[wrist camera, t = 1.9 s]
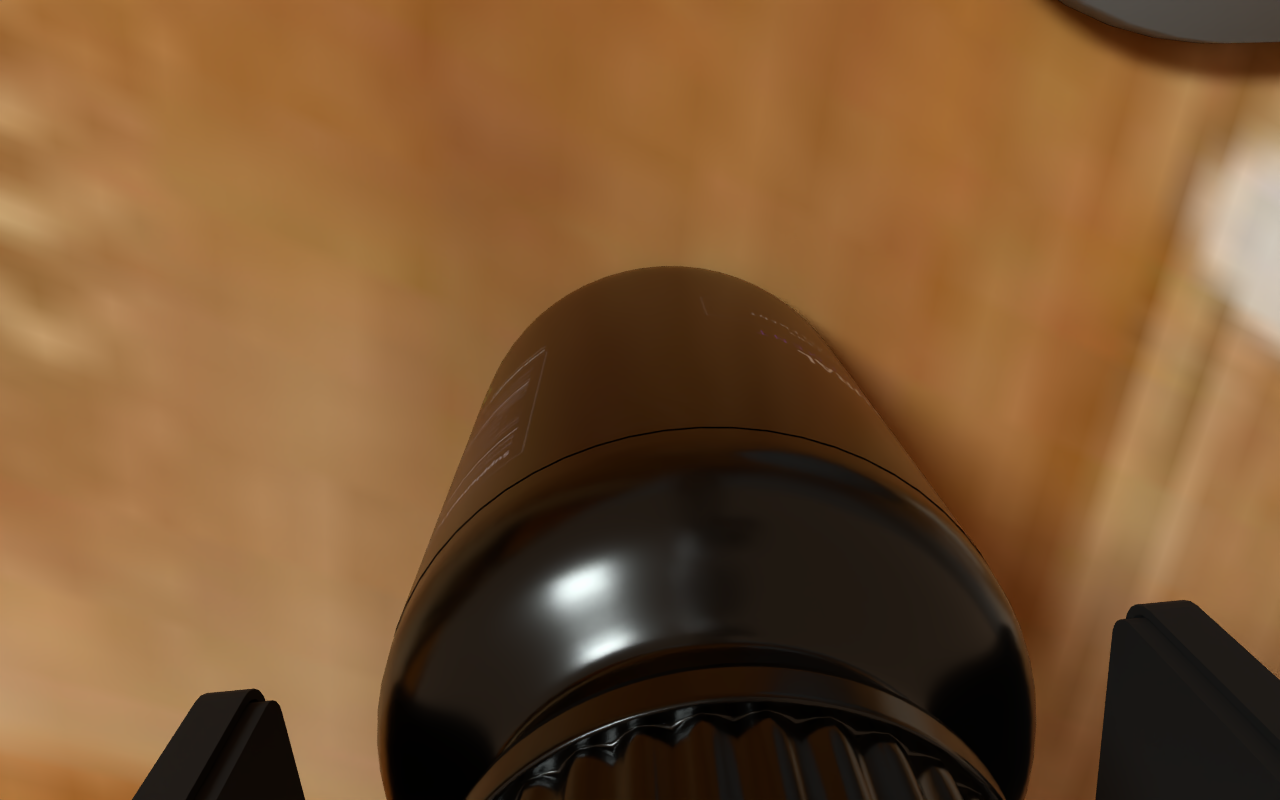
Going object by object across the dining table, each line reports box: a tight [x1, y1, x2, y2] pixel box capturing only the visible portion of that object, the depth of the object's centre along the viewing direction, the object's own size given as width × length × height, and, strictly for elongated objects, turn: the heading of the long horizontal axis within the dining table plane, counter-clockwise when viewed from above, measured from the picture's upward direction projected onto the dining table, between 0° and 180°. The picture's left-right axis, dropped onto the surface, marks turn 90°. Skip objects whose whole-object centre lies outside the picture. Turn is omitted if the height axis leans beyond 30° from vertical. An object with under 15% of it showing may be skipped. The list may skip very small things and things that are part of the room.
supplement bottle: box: [377, 266, 1036, 800], centre depth 12 cm, size 7×7×12 cm
